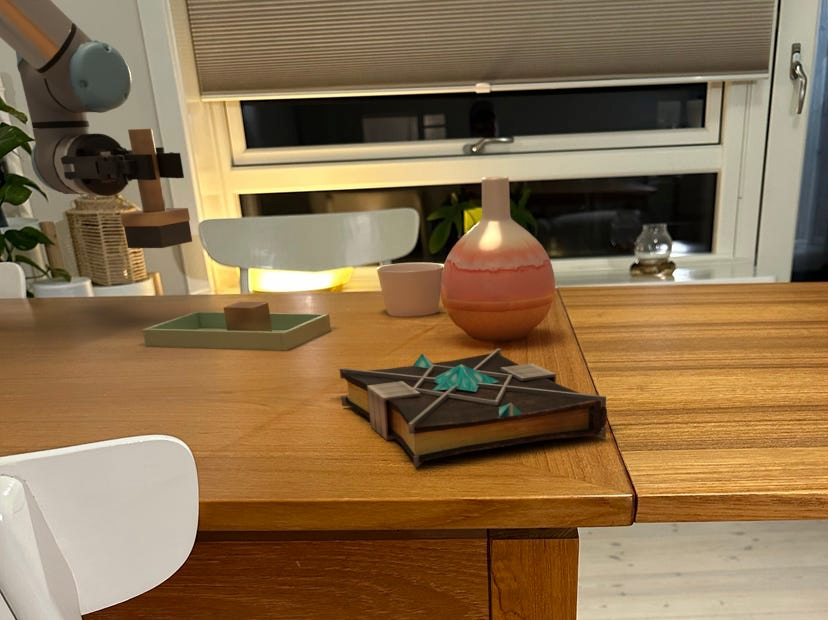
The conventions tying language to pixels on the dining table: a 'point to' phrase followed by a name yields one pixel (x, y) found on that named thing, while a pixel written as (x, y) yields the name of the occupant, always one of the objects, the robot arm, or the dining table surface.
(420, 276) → the pink cup
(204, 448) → the dining table surface
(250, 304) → the brown cube
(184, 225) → the brush
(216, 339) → the tray
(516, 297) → the vase
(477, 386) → the book
